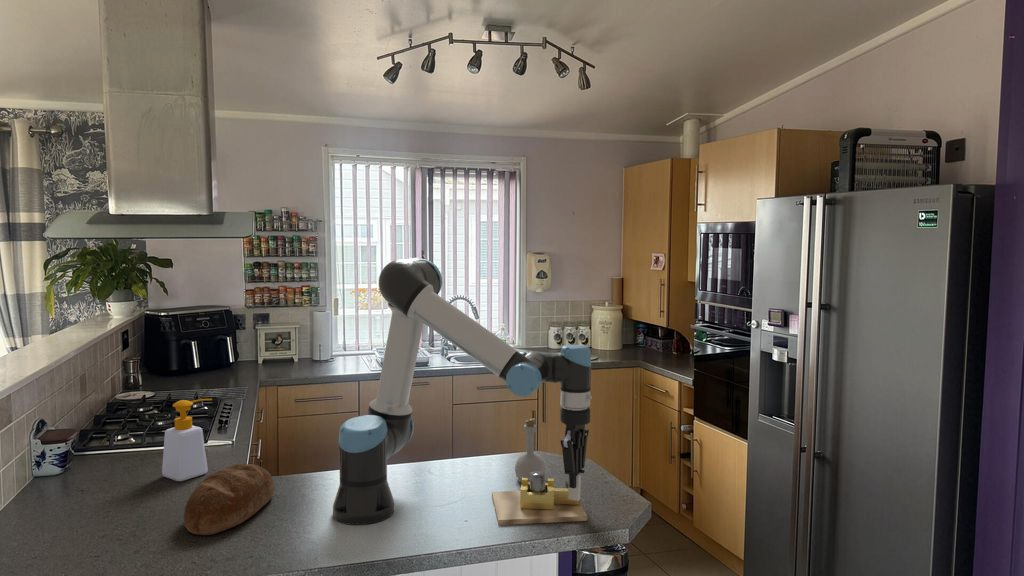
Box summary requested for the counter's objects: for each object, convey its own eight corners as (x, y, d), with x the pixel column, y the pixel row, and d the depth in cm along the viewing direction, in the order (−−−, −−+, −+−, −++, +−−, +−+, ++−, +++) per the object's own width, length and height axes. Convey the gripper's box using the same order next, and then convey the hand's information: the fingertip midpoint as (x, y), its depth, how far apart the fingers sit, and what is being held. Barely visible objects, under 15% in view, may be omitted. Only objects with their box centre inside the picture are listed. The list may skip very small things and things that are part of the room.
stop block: (566, 500, 171) (567, 483, 171) (565, 497, 173) (565, 480, 173) (574, 499, 171) (574, 483, 171) (572, 496, 173) (572, 480, 173)
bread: (166, 537, 152) (165, 489, 151) (234, 489, 181) (233, 449, 180) (230, 540, 150) (229, 492, 149) (288, 492, 179) (287, 451, 178)
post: (530, 511, 167) (531, 476, 166) (528, 505, 171) (528, 471, 170) (546, 510, 167) (546, 476, 166) (543, 504, 171) (544, 470, 170)
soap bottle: (223, 469, 196) (221, 396, 195) (178, 483, 184) (176, 406, 183) (204, 463, 201) (202, 392, 200) (159, 477, 190) (157, 401, 188)
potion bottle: (542, 486, 184) (543, 423, 182) (511, 484, 185) (511, 421, 184) (547, 475, 192) (547, 415, 191) (517, 473, 194) (517, 413, 193)
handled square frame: (520, 508, 165) (520, 489, 165) (521, 495, 173) (521, 477, 173) (581, 510, 164) (581, 491, 164) (579, 497, 172) (579, 479, 172)
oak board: (498, 524, 159) (498, 520, 159) (491, 496, 176) (491, 491, 176) (587, 520, 161) (587, 515, 161) (571, 492, 179) (571, 488, 179)
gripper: (579, 414, 157) (578, 510, 158) (598, 403, 169) (597, 493, 170) (550, 410, 161) (550, 504, 162) (571, 400, 172) (570, 488, 173)
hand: (574, 499), depth 166 cm, fingers closed
